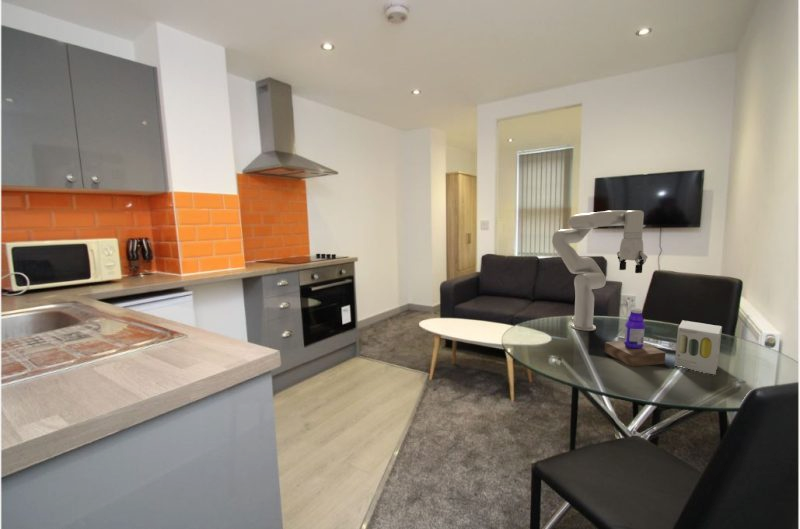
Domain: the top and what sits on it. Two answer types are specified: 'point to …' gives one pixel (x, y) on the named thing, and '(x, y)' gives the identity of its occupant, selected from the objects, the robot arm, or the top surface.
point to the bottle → (634, 329)
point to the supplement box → (698, 346)
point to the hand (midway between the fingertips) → (630, 271)
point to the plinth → (635, 354)
